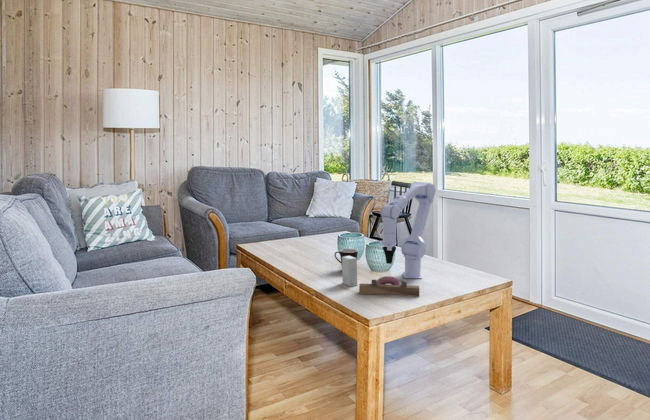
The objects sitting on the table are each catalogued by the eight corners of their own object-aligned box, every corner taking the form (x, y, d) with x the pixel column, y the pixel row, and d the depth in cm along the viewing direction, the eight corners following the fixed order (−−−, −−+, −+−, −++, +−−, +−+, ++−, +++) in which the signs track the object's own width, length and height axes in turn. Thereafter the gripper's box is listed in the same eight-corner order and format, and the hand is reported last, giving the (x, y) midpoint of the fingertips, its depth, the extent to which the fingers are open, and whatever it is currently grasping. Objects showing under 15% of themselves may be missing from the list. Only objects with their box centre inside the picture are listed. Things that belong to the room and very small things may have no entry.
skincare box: (357, 285, 197) (357, 258, 195) (348, 286, 195) (349, 259, 193) (350, 281, 202) (350, 255, 200) (341, 283, 200) (341, 256, 198)
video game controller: (400, 294, 189) (400, 277, 192) (400, 292, 185) (400, 275, 187) (376, 293, 191) (376, 276, 193) (376, 291, 186) (376, 274, 189)
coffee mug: (361, 271, 219) (361, 251, 217) (346, 274, 214) (346, 253, 213) (347, 266, 228) (347, 246, 227) (333, 268, 224) (333, 248, 223)
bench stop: (359, 291, 188) (359, 278, 187) (418, 294, 185) (418, 280, 184) (359, 293, 185) (359, 280, 184) (419, 296, 182) (419, 283, 181)
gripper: (380, 229, 203) (380, 258, 205) (380, 235, 189) (379, 267, 191) (396, 229, 202) (395, 259, 204) (397, 235, 188) (396, 267, 190)
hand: (389, 263), depth 197 cm, fingers closed
